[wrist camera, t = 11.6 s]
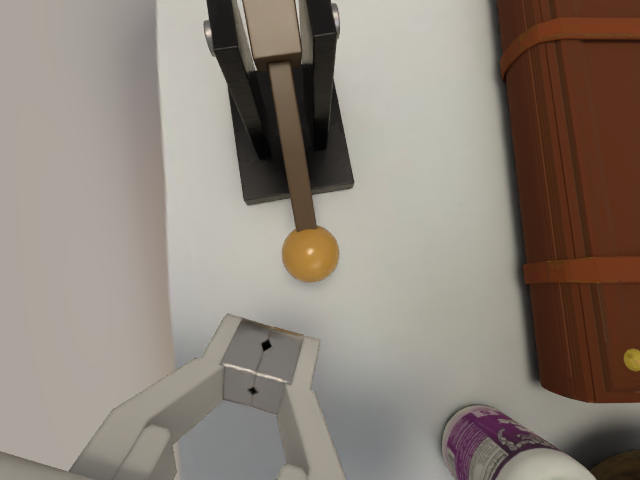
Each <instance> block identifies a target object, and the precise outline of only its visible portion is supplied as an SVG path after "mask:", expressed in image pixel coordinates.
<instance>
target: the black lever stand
mask: <svg viewBox="0 0 640 480" xmlns="http://www.w3.org/2000/svg"><path fill="white" fill-rule="evenodd" d="M207 8H208V15H209V20H207V21H204V32H205V36H206V40H207V44H208V47H209V50H210V52H211V54H212V56H214V57H215V56H216V58H217V60H218V63H219V65H220V68H221V70H222V72H223V75H224V77H225V80H226V82H227V85H228V92H229V99H230V106H231V113H232V120H233V127H234V134H235V142H236V149H237V156H238V163H239V170H240V177H241V184H242V191H243V198H244V201H245V202H246V204H247V205H250V204H256V203H262V202H268V201H274V200H281V199H287V198H291V197H290V192H289V186H288V180H287V175H286V169H285V163H284V158H283V152H282V146H281V140H280V135H279V129H278V123H277V118H276V112H275V106H274V101H273V95H272V89H271V83H270V78H269V72H261V73H259V72H258V70H257V71H255V68H254V64H253V60H252V57H251V53H250V49H249V45H248V42H247V38H246V34H245V30H244V27H243V23H242V19H241V15H240V12H239V8H238V4H237V0H207ZM299 14H300V33H301V45H302V64H301V66H300V67H296V68H292V73H293V79H294V86H295V92H296V98H297V105H298V111H299V117H300V124H301V130H302V136H303V143H304V149H305V156H306V162H307V168H308V175H309V181H310V187H311V194H318V193H324V192H330V191H336V190H342V189H348V188H352V187H353V184H354V179H353V174H352V169H351V164H350V159H349V154H348V149H347V144H346V139H345V134H344V129H343V124H342V119H341V114H340V109H339V104H338V99H337V94H336V89H335V84H334V79H333V76H334V65H335V54H336V43H337V39H338V38H339V34H340V21H339V12H338V7H337V5H336V4H335V3H333V4H331V0H299Z"/></svg>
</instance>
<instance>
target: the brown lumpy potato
mask: <svg viewBox="0 0 640 480" xmlns="http://www.w3.org/2000/svg"><path fill="white" fill-rule="evenodd" d="M589 472H590V473H591V474H592V475H593V476H594V477H595V478H596V480H640V449H637V450H631V451H626V452H621V453H619V454H616V455H614V456H611V457H609V458H607V459H605V460H604V461H602V462H601V463H599V464H598V465H596V466H595V467H593V468H592V469H591V470H590V471H589Z"/></svg>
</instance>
